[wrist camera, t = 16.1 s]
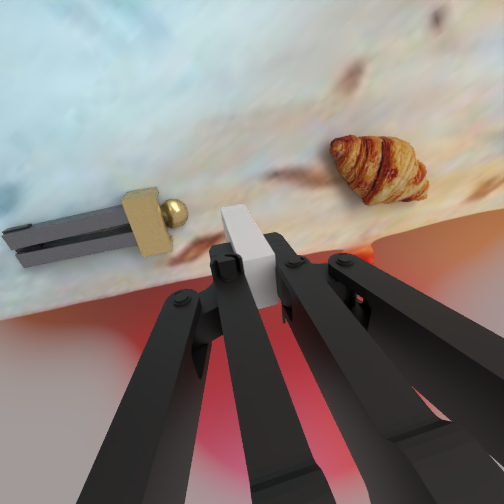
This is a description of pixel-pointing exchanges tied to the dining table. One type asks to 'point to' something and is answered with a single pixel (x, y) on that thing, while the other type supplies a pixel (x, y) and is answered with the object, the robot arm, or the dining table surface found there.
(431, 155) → the dining table surface
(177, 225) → the tongs fixed arm
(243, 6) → the dining table surface
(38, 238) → the tongs arm
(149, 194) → the tan block
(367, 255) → the dining table surface
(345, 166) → the croissant
